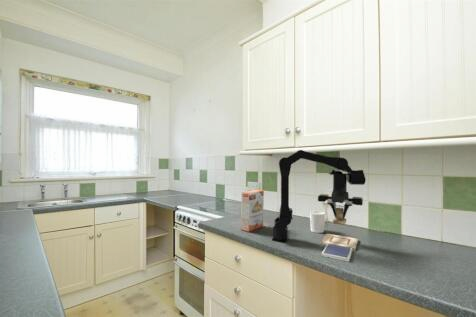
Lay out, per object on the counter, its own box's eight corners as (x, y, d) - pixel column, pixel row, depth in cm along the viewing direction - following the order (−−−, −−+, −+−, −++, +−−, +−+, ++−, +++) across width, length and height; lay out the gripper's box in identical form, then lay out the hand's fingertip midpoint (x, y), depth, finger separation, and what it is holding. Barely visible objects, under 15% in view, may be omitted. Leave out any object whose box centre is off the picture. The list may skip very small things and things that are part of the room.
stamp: (333, 223, 107) (333, 208, 107) (334, 220, 111) (334, 206, 111) (344, 225, 104) (344, 210, 104) (346, 222, 108) (346, 208, 108)
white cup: (306, 229, 127) (306, 211, 127) (318, 228, 130) (318, 210, 130) (316, 234, 120) (316, 214, 120) (328, 232, 122) (328, 213, 122)
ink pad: (321, 256, 93) (321, 252, 93) (327, 246, 103) (327, 243, 103) (348, 261, 88) (348, 257, 88) (352, 251, 98) (352, 247, 98)
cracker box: (249, 232, 122) (249, 193, 122) (240, 230, 126) (240, 192, 126) (264, 226, 133) (264, 190, 133) (255, 224, 137) (255, 189, 137)
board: (320, 244, 105) (320, 241, 105) (327, 235, 117) (327, 233, 117) (355, 250, 98) (355, 248, 98) (357, 240, 110) (357, 238, 110)
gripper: (315, 184, 106) (315, 218, 106) (361, 187, 96) (361, 225, 96) (320, 182, 115) (320, 213, 115) (362, 185, 105) (362, 219, 105)
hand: (339, 217), depth 108 cm, fingers closed on stamp, 3 cm apart
